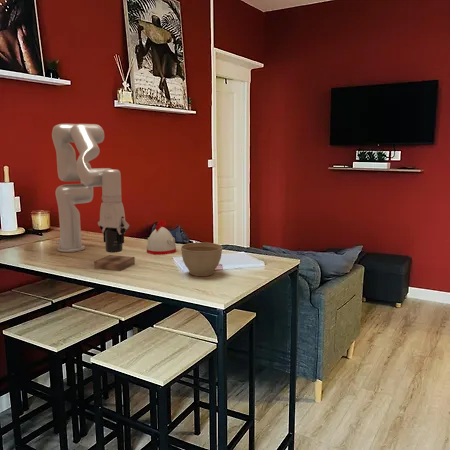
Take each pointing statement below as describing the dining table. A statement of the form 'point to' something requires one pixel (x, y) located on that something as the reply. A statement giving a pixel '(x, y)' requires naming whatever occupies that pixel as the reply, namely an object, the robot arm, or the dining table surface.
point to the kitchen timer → (161, 241)
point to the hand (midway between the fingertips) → (113, 242)
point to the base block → (114, 262)
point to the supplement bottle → (112, 240)
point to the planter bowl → (201, 258)
